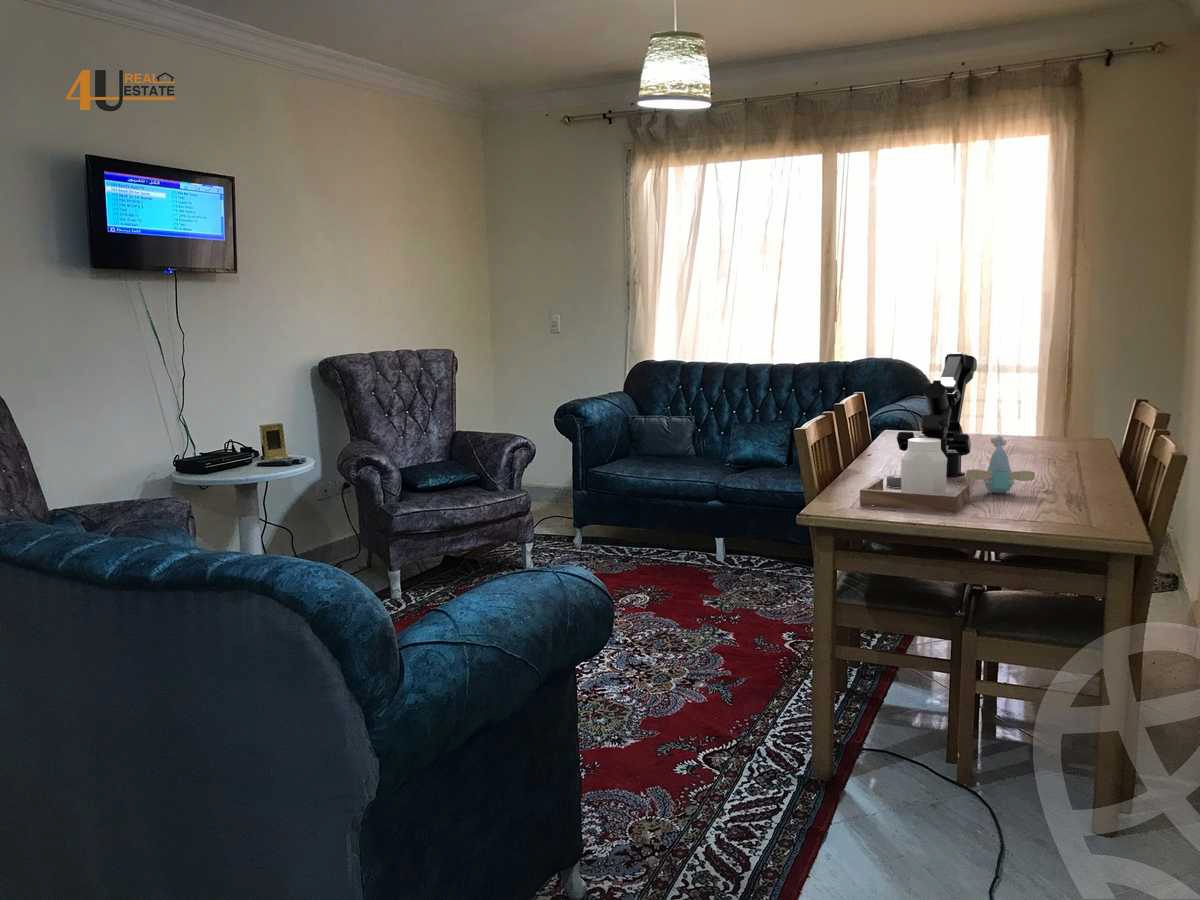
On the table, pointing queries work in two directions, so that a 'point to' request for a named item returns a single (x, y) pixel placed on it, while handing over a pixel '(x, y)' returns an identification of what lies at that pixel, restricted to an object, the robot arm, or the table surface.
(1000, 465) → the blue winged piece
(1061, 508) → the table surface
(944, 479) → the jar
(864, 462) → the table surface
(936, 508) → the wooden tray
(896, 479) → the wheel
